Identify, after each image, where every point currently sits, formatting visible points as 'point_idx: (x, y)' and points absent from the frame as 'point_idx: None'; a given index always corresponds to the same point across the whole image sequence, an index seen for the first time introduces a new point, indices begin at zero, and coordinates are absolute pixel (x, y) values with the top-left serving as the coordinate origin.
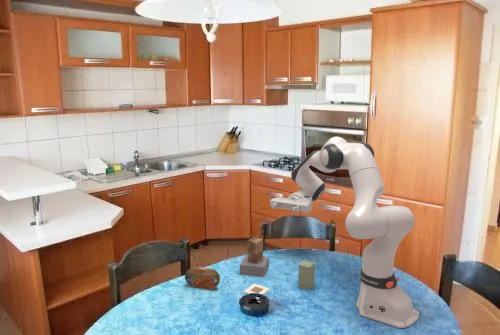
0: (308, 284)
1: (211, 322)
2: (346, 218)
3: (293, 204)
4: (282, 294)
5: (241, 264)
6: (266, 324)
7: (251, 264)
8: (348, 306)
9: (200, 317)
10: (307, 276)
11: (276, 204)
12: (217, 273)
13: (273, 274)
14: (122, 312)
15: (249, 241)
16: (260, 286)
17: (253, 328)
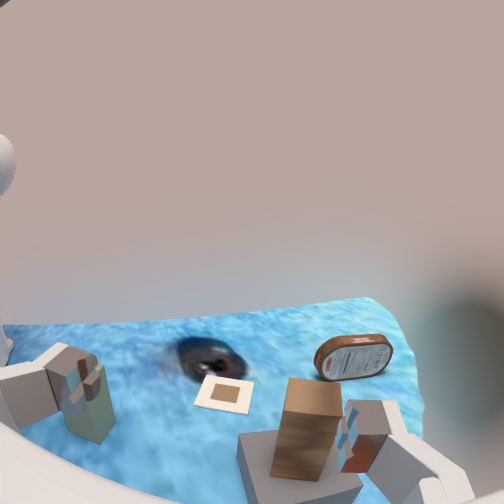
0: None
1: (256, 320)
2: (11, 153)
3: (25, 441)
4: (156, 391)
5: None
6: (171, 326)
7: None
8: None
9: (279, 324)
10: None
11: (411, 491)
12: (325, 349)
13: (211, 476)
14: (378, 313)
15: (328, 384)
16: (222, 407)
17: (189, 320)
